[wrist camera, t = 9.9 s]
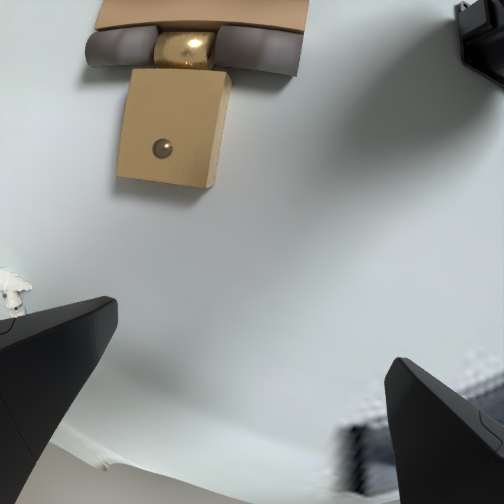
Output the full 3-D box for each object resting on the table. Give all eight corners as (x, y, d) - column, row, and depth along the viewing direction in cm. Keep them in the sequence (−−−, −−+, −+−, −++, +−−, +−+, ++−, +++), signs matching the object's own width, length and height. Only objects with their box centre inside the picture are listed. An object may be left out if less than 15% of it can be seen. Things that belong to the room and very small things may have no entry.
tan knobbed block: (214, 184, 19) (204, 189, 17) (132, 173, 20) (112, 176, 17) (240, 43, 16) (234, 27, 14) (156, 40, 17) (140, 27, 14)
